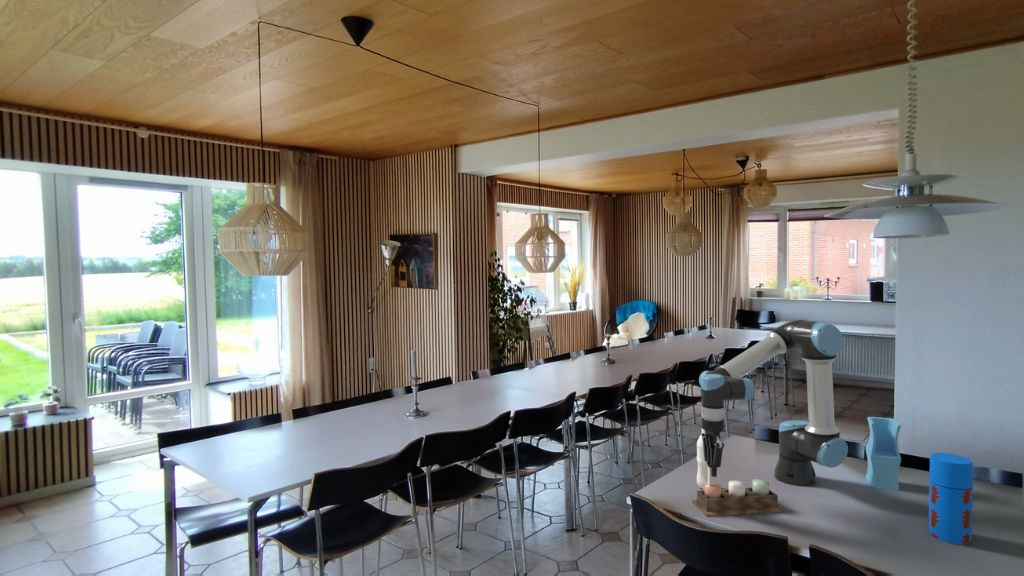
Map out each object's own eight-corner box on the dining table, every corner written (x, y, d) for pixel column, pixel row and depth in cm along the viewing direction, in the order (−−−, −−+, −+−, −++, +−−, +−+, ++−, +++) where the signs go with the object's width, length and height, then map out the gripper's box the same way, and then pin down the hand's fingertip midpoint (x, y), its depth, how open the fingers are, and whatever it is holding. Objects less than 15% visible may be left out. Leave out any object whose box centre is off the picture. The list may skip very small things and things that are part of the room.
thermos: (920, 529, 186) (921, 453, 185) (950, 527, 187) (952, 451, 186) (948, 545, 175) (949, 465, 174) (980, 543, 176) (982, 463, 175)
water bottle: (717, 492, 219) (717, 427, 217) (697, 490, 220) (697, 426, 219) (714, 484, 226) (714, 422, 224) (695, 483, 227) (695, 421, 226)
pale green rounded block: (763, 492, 209) (763, 478, 209) (772, 498, 204) (772, 484, 203) (749, 493, 208) (749, 479, 208) (757, 499, 203) (757, 485, 203)
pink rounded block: (716, 495, 207) (716, 481, 207) (723, 501, 202) (723, 487, 201) (701, 496, 207) (701, 482, 206) (708, 502, 201) (708, 488, 201)
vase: (870, 486, 221) (871, 422, 220) (865, 477, 231) (866, 416, 229) (900, 490, 218) (901, 425, 217) (894, 481, 227) (895, 418, 226)
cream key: (740, 493, 208) (740, 480, 208) (748, 499, 203) (748, 485, 202) (725, 494, 207) (725, 480, 207) (733, 500, 202) (733, 486, 202)
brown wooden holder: (764, 497, 213) (764, 484, 212) (783, 511, 201) (783, 497, 200) (692, 502, 210) (692, 488, 209) (706, 516, 198) (706, 502, 198)
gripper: (694, 414, 209) (694, 478, 210) (710, 424, 196) (710, 492, 197) (714, 413, 210) (714, 477, 211) (731, 423, 197) (731, 490, 198)
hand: (712, 484), depth 204 cm, fingers closed
